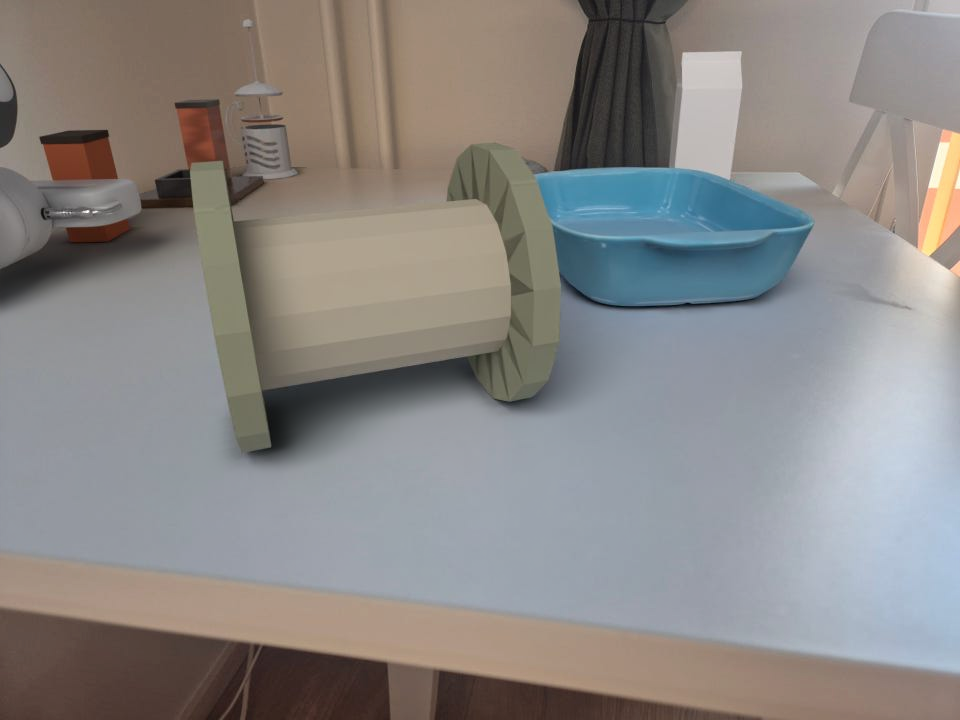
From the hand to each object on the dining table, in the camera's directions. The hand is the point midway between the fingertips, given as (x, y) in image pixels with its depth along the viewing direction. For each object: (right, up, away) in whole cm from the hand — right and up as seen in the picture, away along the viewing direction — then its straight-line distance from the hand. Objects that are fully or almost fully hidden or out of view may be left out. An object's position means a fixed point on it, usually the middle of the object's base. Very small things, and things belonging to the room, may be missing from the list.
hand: (70, 188), depth 77 cm
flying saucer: (+50, +7, +28) cm, 58 cm away
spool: (+40, -23, -35) cm, 58 cm away
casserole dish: (+63, -10, -8) cm, 64 cm away
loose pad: (0, -4, +6) cm, 7 cm away
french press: (+8, +14, +45) cm, 48 cm away
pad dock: (+3, +6, +29) cm, 29 cm away
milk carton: (+76, +2, +16) cm, 77 cm away
